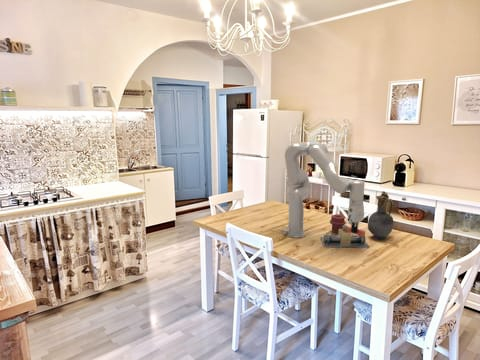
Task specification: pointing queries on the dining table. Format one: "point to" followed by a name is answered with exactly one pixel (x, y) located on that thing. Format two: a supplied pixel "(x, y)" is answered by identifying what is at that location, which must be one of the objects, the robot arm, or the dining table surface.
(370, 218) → the pitcher
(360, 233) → the lever
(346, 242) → the valve body
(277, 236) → the dining table surface
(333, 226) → the mechanical component
